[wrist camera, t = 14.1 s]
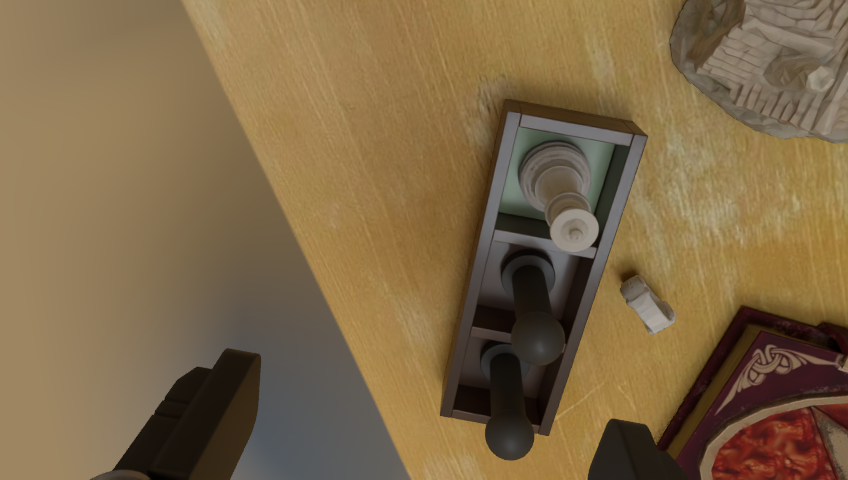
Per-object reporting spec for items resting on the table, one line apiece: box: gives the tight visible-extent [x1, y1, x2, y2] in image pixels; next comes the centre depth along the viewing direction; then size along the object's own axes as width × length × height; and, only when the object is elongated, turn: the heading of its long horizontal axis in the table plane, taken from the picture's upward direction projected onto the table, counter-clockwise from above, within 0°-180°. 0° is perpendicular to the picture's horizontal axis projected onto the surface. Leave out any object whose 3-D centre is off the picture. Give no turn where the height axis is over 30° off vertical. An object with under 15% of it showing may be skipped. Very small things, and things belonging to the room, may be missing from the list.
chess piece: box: [518, 140, 599, 252], centre depth 32 cm, size 4×4×10 cm
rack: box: [440, 99, 648, 436], centre depth 39 cm, size 8×22×4 cm, turn 171°
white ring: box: [620, 275, 677, 334], centre depth 38 cm, size 4×2×4 cm, turn 42°
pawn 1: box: [501, 249, 565, 366], centre depth 36 cm, size 4×4×10 cm
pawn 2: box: [480, 340, 534, 460], centre depth 39 cm, size 4×4×10 cm
